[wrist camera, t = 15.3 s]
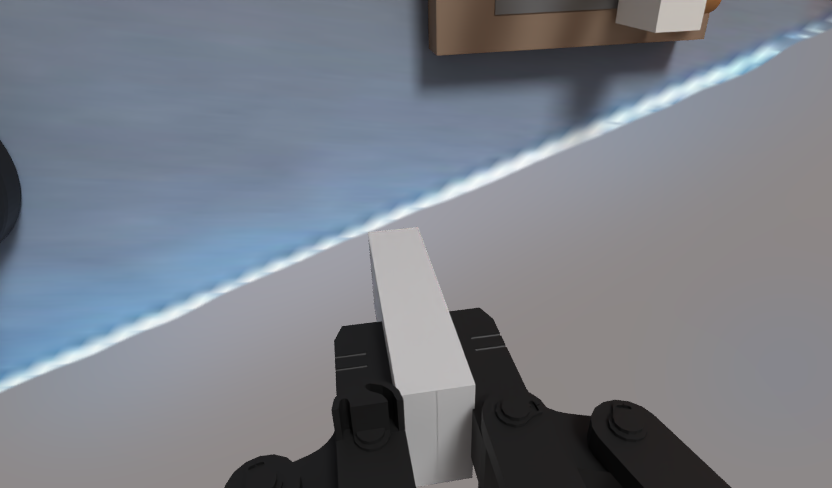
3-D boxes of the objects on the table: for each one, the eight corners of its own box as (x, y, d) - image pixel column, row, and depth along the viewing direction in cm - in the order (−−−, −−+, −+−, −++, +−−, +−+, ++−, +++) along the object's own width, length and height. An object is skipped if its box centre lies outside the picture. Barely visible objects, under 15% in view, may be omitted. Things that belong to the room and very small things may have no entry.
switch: (615, 22, 36) (655, 32, 32) (622, -26, 35) (665, -22, 31) (655, 20, 37) (700, 30, 32) (664, -28, 35) (712, -25, 31)
